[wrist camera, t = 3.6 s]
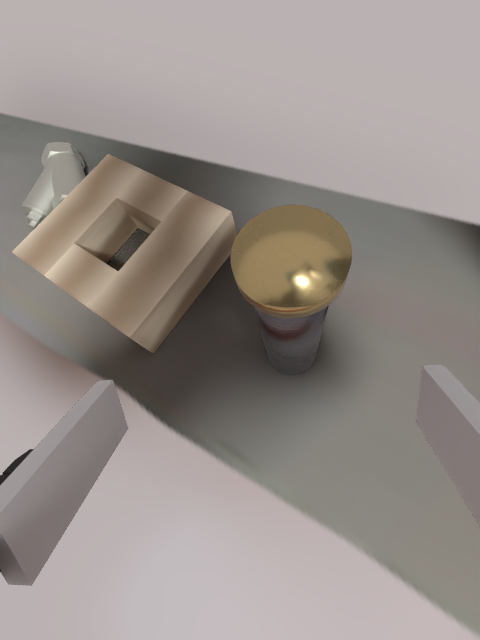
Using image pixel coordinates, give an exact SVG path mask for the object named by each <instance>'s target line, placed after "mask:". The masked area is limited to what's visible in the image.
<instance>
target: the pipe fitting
mask: <svg viewBox="0 0 480 640" xmlns="http://www.w3.org/2000/svg"><path fill="white" fill-rule="evenodd" d="M41 161H42V165H43V168H44V171H43V172H42V174H41V175H40V177H39V179H38V180H37V182H36V183H35V185H34V187H33V188H32V190H31V191H30V193H29V195H28V196H27V198H26V200H25V201H24V203H23V204H22V206H21V208H22V210H23V211H24V212H25V213H26V214H28V216H27V217H26V219H27V220H28V221H29V222H30V223H29V227H31V228H32V229H35V228H36V227H37V226H38V225H39V224H40V223H41V222H42V221H43V220H44V219H45V218H46V217H47V216H48V215H49V214H50V213H51V212H52V211H53V210H54V209H55V208H56V207H57V206H58V205H59V204H60V203H61V202H62V200H63V199H64V198H65V197H66V196H67V195H68V194H69V193H70V192H71V191H72V190H73V189H74V188H75V187H76V186H77V185H78V184H79V183H80V182H81V181H82V180H83V179H84V178H85V177H86V176H85V173H84V168H85V164H84V161H83V158H82V157H81V156H80V154H79V153H78V152H77V151H76V150H75V148H74V147H73V146H72V145H71V144H70V143H65V142H52V143H48V144H47V145H46V147H45V150H44V152H43V155H42V158H41Z"/></svg>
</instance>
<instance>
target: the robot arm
mask: <svg viewBox="0 0 480 640" xmlns="http://www.w3.org/2000/svg"><path fill="white" fill-rule="evenodd" d="M416 422H417V424H418V426H419V427H420V429H421V431H422V432H423V434H424V436H425V437H426V439H427V441H428V442H429V444H430V445H431V447H432V449H433V450H434V452H435V454H436V455H437V457H438V459H439V460H440V462H441V464H442V465H443V467H444V469H445V470H446V472H447V473H448V475H449V477H450V478H451V480H452V482H453V483H454V485H455V487H456V488H457V490H458V492H459V493H460V495H461V497H462V498H463V500H464V501H465V503H466V505H467V506H468V508H469V510H470V511H471V513H472V515H473V516H474V518H475V520H476V521H477V523H478V525H479V526H480V403H479V402H478V401H477V400H476V399H475V398H474V397H473V396H472V394H471V393H470V392H469V391H468V390H467V389H466V388H465V387H464V386H463V385H462V384H461V383H460V382H459V381H458V380H457V379H456V378H455V377H454V376H453V375H452V374H451V373H450V371H449V370H448V369H447V368H446V367H445V366H444V365H425V366H422V372H421V381H420V390H419V399H418V408H417V417H416ZM127 429H128V427H127V424H126V420H125V417H124V414H123V411H122V407H121V404H120V401H119V397H118V394H117V391H116V388H115V384H114V381H113V380H98V381H97V382H96V383H95V384H94V385H93V386H92V387H91V388H90V389H89V390H88V391H87V392H86V393H85V395H84V396H83V397H82V398H81V399H80V400H79V401H78V402H77V403H76V404H75V405H74V407H72V409H71V410H70V411H69V412H68V413H67V414H66V415H65V416H64V417H63V419H61V420H60V422H59V423H58V424H57V425H56V426H55V427H54V428H53V429H52V430H51V431H50V432H49V433H48V435H47V436H46V437H45V438H44V439H43V440H42V441H41V442H40V443H39V444H38V445H37V446H36V447H35V449H30V450H28V451H27V452H26V453H24V454H23V455H21V456H20V457H19V458H17V459H16V460H15V461H14V462H13V463H12V464H11V465H10V466H9V467H8V468H7V469H6V470H5V471H4V472H3V475H0V572H1V573H2V575H3V576H4V578H5V580H6V581H7V583H8V584H11V585H32V584H33V583H34V581H35V579H36V578H37V576H38V574H39V573H40V571H41V569H42V568H43V566H44V564H45V563H46V561H47V560H48V558H49V556H50V554H51V553H52V552H53V550H54V548H55V547H56V545H57V543H58V541H59V540H60V538H61V537H62V535H63V534H64V532H65V530H66V529H67V527H68V525H69V524H70V522H71V521H72V519H73V517H74V516H75V514H76V512H77V511H78V509H79V507H80V506H81V504H82V503H83V501H84V499H85V498H86V496H87V494H88V493H89V491H90V489H91V488H92V486H93V485H94V483H95V481H96V480H97V478H98V476H99V475H100V473H101V472H102V470H103V468H104V467H105V465H106V463H107V462H108V460H109V458H110V457H111V455H112V453H113V452H114V450H115V449H116V447H117V445H118V444H119V442H120V441H121V439H122V437H123V436H124V434H125V432H126V431H127Z"/></svg>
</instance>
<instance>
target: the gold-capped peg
mask: <svg viewBox="0 0 480 640" xmlns="http://www.w3.org/2000/svg"><path fill="white" fill-rule="evenodd" d="M230 260H231V268H232V271H233V274H234V277H235V280H236V283H237V286H238V288H239V290H240V292H241V294H242V296H243V297H244V298H245V299H246V301H247V302H248V303H249V304H251V305H252V306H253V307H254V310H255V313H256V317H257V320H258V324H259V327H260V331H261V335H262V338H263V342H264V345H265V349H266V352H267V356H268V359H269V362H270V363H271V365H272V366H273V367H274V368H275V369H276V370H277V371H278V372H280V373H282V374H285V375H299V374H302V373H304V372H306V371H307V370H308V369H309V368H310V367H311V366H312V365H313V363H314V361H315V358H316V354H317V350H318V346H319V342H320V338H321V334H322V330H323V326H324V322H325V318H326V313H327V309H328V305H329V304H331V303H332V302H333V301H334V300H335V299H336V297H337V296H338V295H339V293H340V292H341V290H342V288H343V287H344V284H345V281H346V278H347V275H348V272H349V269H350V265H351V260H352V248H351V243H350V240H349V237H348V235H347V233H346V231H345V230H344V228H343V227H342V226H341V225H340V223H339V222H338V221H337V220H335V219H334V218H333V217H332V216H330V215H329V214H327V213H325V212H323V211H321V210H319V209H316V208H313V207H309V206H303V205H284V206H279V207H275V208H271V209H268V210H266V211H264V212H262V213H260V214H258V215H256V216H255V217H253V218H252V219H251V220H250V221H248V222H247V223H246V224H245V225H244V226H243V227H242V229H241V230H240V231H239V233H238V234H237V236H236V238H235V240H234V242H233V245H232V249H231V259H230Z"/></svg>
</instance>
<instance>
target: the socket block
mask: <svg viewBox="0 0 480 640" xmlns="http://www.w3.org/2000/svg"><path fill="white" fill-rule="evenodd" d="M137 228H139V229H141V230H143V231H145V232H146V233H148V234H150V235H149V237H148V238H147V239H146V240H145V241H144V242H143V244H142V245H141V246H140V247H139V248H138V249H137V251H136V252H135V253H134V254H133V255H132V256H131V257H130V259H129V260H128V261H127V262H126V263H125V264H124V266H123V267H122V268H121V269H120V270H119V271H117V270H115V269H113V268H112V267H110V266H109V265H107V262H108V261H109V260H110V259H111V258H112V257H113V256H114V255H115V253H116V252H117V251H118V250H119V249H120V248H121V247H122V245H123V244H124V243H125V242H126V241H127V240H128V239H129V237H130V236H131V235H132V234H133V233H134V232H135V231H136V230H137ZM236 236H237V231H236V227H235V223H234V220H233V216H232V212H231V211H230V210H227V209H225V208H223V207H221V206H219V205H217V204H215V203H212V202H210V201H208V200H206V199H204V198H202V197H200V196H197V195H195V194H193V193H191V192H189V191H187V190H185V189H182V188H180V187H178V186H176V185H174V184H172V183H170V182H168V181H165V180H163V179H161V178H159V177H157V176H155V175H153V174H150V173H148V172H146V171H144V170H142V169H140V168H138V167H135V166H133V165H131V164H129V163H127V162H125V161H123V160H120V159H118V158H116V157H114V156H112V155H110V154H108V155H107V156H106V157H105V158H104V159H103V160H102V161H101V162H100V163H99V164H98V165H97V166H96V167H95V168H94V169H93V170H92V171H91V172H90V173H89V174H88V175H87V176H86V177H85V178H84V179H83V180H82V181H81V182H80V183H79V184H78V185H77V186H76V187H75V188H74V189H73V190H72V191H71V192H70V193H69V194H68V195H67V196H66V197H65V198H64V199H63V200H62V202H61V203H60V204H59V205H58V206H57V207H56V208H55V209H54V210H53V211H52V212H51V213H50V214H49V215H48V216H47V217H46V218H45V219H44V220H43V221H42V222H41V223H40V224H39V225H38V226H37V227H36V228H35V229H34V230H33V231H32V232H31V233H30V234H29V235H28V236H27V237H26V238H25V239H24V240H23V241H22V242H21V243H20V244H19V245H18V246H17V247H16V248H15V249H14V250H13V251H12V252H13V253H14V254H15V255H17V256H18V257H20V258H21V259H22V260H24V261H25V262H26V263H28V264H29V265H31V266H32V267H33V268H35V269H36V270H37V271H39V272H40V273H41V274H43V275H44V276H46V277H47V278H48V279H50V280H51V281H52V282H54V283H55V284H57V285H58V286H59V287H61V288H62V289H63V290H65V291H66V292H68V293H69V294H70V295H72V296H73V297H74V298H76V299H77V300H78V301H80V302H81V303H83V304H84V305H85V306H87V307H88V308H89V309H91V310H92V311H94V312H95V313H96V314H98V315H99V316H100V317H102V318H103V319H105V320H106V321H107V322H109V323H110V324H111V325H113V326H114V327H115V328H117V329H118V330H120V331H121V332H122V333H124V334H125V335H126V336H128V337H129V338H131V339H132V340H134V341H135V342H137V343H138V344H140V345H141V346H142V347H144V348H145V349H147V350H148V351H150V352H151V353H153V354H154V352H155V351H156V350H157V349H158V347H159V346H160V345H161V343H162V342H163V341H164V340H165V338H166V337H167V336H168V334H169V333H170V332H171V330H172V329H173V328H174V327H175V325H176V324H177V323H178V321H179V320H180V319H181V318H182V316H183V315H184V314H185V312H186V311H187V310H188V308H189V307H190V306H191V305H192V303H193V302H194V301H195V299H196V298H197V297H198V296H199V294H200V293H201V292H202V290H203V289H204V288H205V286H206V285H207V284H208V283H209V281H210V280H211V279H212V277H213V276H214V275H215V274H216V272H217V271H218V270H219V268H220V267H221V266H222V264H223V263H224V262H225V261H226V259H227V258H228V257H229V255H230V254H231V249H232V245H233V242H234V240H235V238H236Z"/></svg>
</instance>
